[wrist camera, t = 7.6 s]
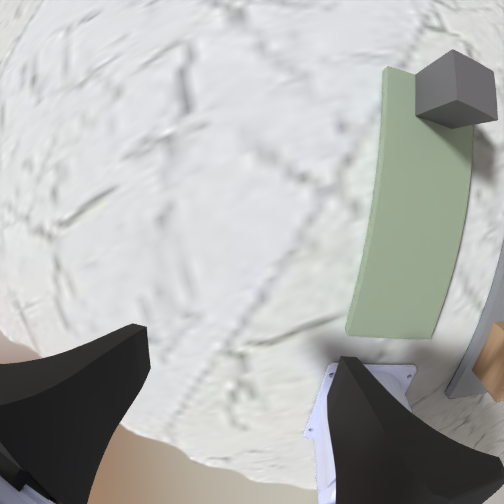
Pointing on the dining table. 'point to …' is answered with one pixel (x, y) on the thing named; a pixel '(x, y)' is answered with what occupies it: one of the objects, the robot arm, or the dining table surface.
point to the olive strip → (419, 195)
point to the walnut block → (492, 363)
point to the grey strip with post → (480, 339)
